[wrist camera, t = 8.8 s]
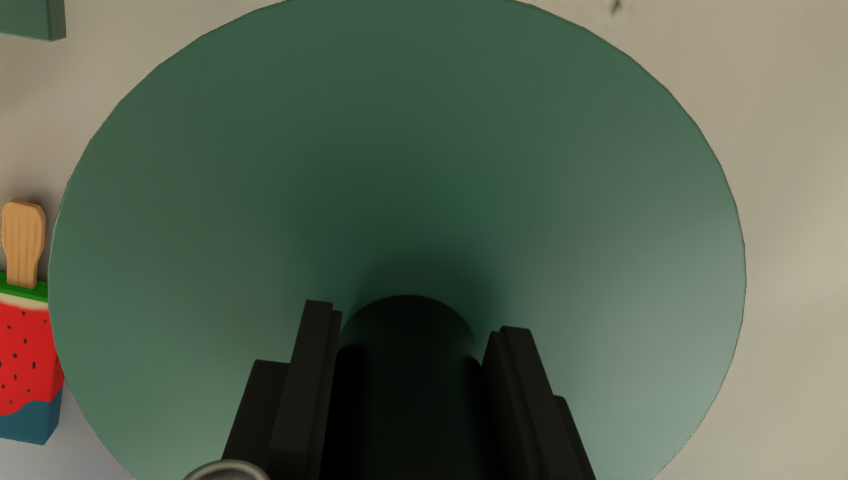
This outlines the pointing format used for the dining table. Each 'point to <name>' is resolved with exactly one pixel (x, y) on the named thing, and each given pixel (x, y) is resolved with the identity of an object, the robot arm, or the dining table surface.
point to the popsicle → (26, 332)
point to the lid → (397, 239)
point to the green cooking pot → (33, 19)
